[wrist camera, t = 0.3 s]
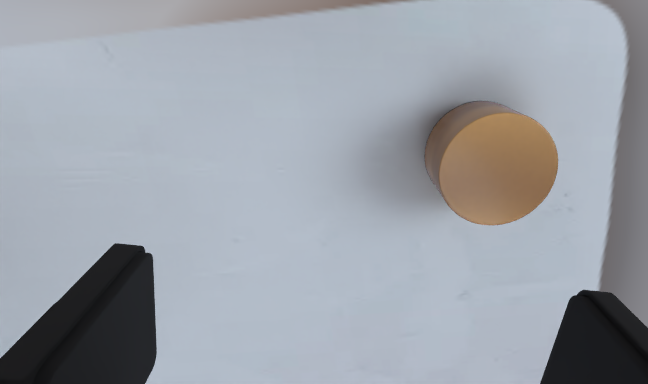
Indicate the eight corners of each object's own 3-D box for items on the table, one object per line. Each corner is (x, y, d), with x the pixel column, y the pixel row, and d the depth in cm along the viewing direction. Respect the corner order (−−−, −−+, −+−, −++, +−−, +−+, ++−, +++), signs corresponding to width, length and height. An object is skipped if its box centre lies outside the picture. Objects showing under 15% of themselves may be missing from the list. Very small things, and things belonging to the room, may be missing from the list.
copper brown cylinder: (433, 96, 22) (449, 107, 19) (539, 105, 22) (572, 118, 19) (417, 196, 24) (429, 221, 21) (515, 204, 24) (542, 230, 21)
